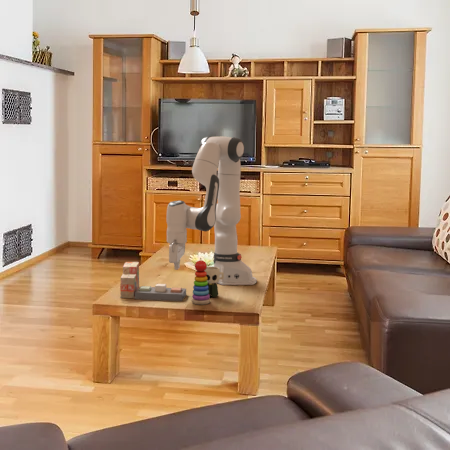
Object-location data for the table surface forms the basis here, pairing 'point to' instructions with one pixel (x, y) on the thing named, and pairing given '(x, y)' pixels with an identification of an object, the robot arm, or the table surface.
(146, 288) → the sage button
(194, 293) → the stacking toy
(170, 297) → the button panel
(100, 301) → the table surface
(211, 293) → the character mug
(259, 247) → the table surface
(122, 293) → the stack of blocks
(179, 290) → the terracotta button
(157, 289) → the cream button
